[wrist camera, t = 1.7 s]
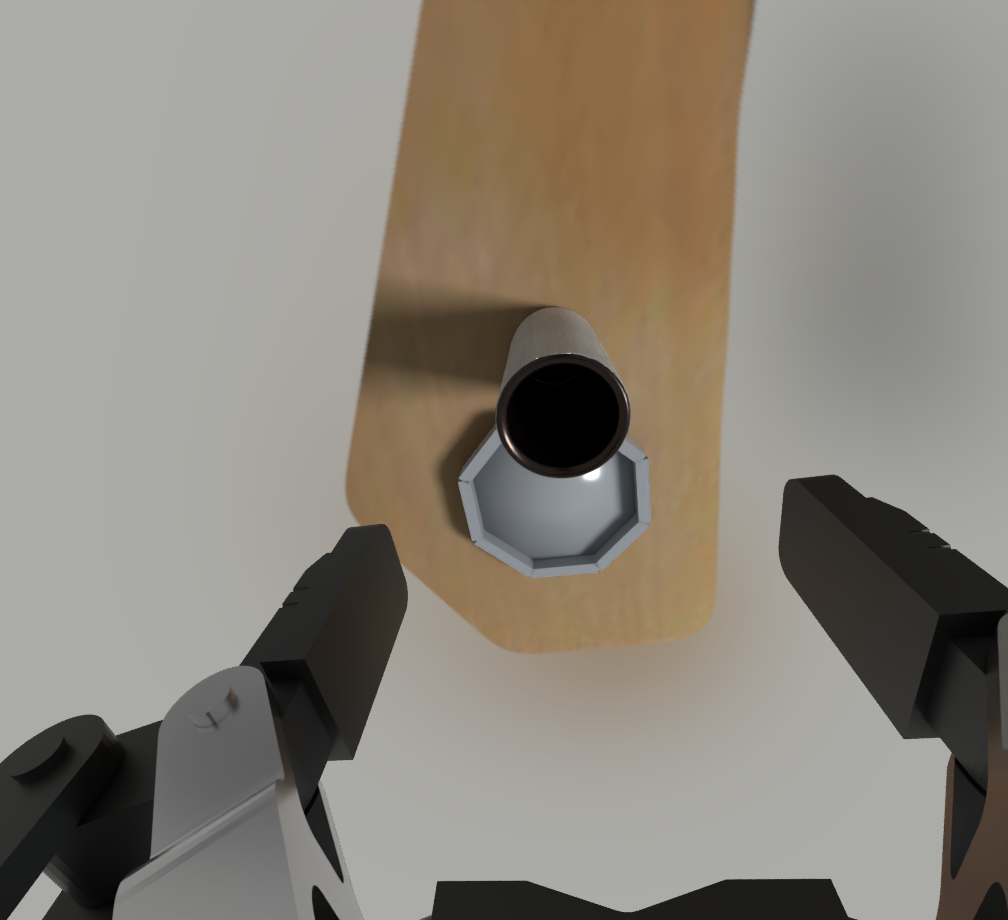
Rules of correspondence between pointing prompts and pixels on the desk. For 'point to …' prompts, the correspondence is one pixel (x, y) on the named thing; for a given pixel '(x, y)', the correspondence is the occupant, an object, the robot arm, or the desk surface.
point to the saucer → (555, 510)
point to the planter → (560, 397)
